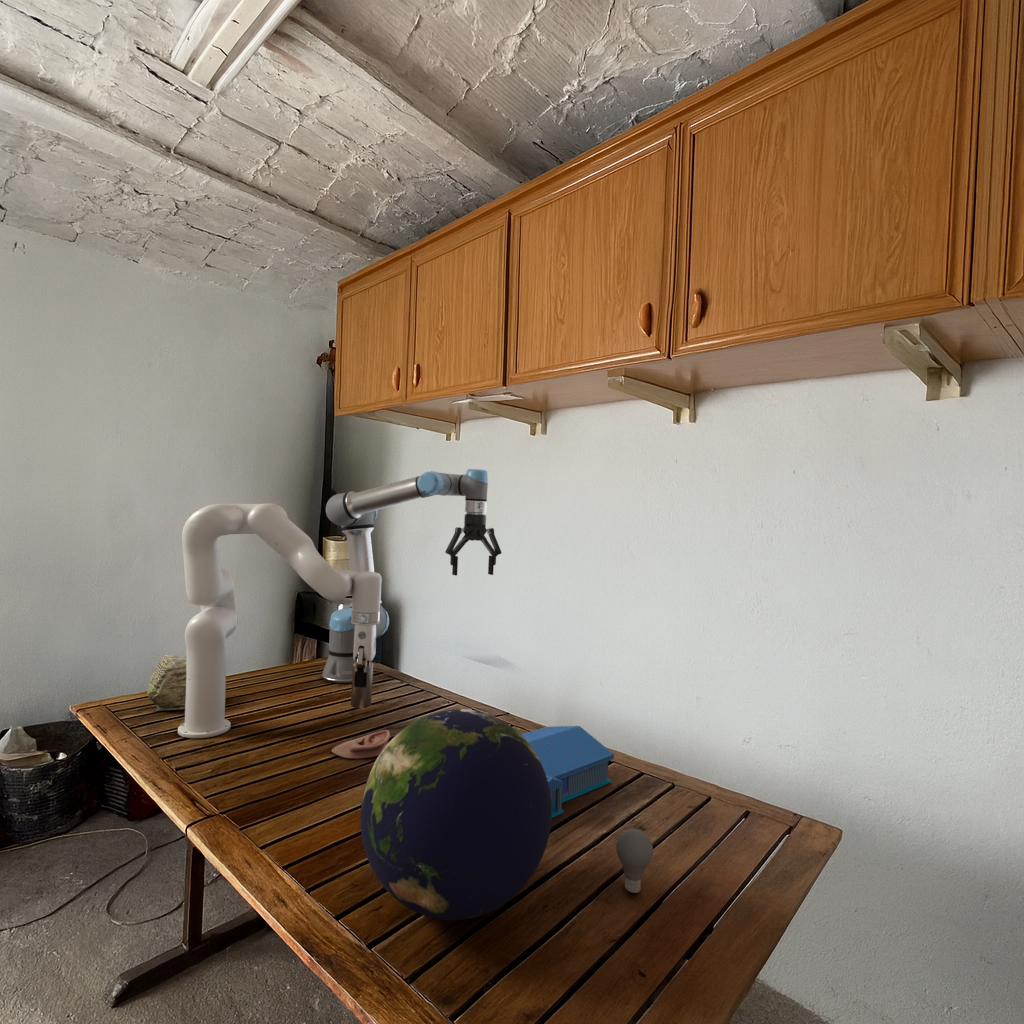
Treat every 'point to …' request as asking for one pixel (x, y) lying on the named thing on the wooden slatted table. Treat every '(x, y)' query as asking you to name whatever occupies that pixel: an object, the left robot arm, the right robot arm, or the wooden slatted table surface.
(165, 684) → the fossil
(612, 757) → the model building
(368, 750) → the anatomical model
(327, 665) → the right robot arm
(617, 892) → the wooden slatted table surface
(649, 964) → the wooden slatted table surface
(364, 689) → the can
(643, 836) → the light bulb
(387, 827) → the globe
